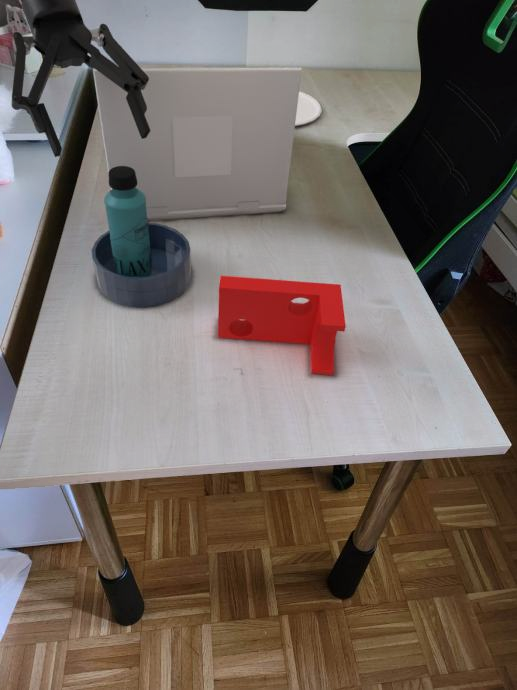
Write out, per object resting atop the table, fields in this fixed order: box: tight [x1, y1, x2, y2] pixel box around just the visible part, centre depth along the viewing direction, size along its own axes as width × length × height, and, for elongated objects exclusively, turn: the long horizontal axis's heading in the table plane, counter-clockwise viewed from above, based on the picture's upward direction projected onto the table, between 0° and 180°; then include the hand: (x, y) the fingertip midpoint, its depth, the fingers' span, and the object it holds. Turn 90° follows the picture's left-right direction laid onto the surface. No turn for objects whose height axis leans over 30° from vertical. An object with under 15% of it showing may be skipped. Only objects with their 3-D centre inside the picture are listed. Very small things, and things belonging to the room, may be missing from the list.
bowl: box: [91, 222, 192, 308], centre depth 89 cm, size 16×16×6 cm
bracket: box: [217, 275, 347, 376], centre depth 78 cm, size 18×10×10 cm
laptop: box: [92, 67, 303, 222], centre depth 104 cm, size 35×26×28 cm
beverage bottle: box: [103, 166, 153, 277], centre depth 82 cm, size 6×7×20 cm
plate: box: [295, 90, 323, 127], centre depth 147 cm, size 29×29×1 cm
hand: (104, 143), depth 76 cm, fingers open, 13 cm apart
